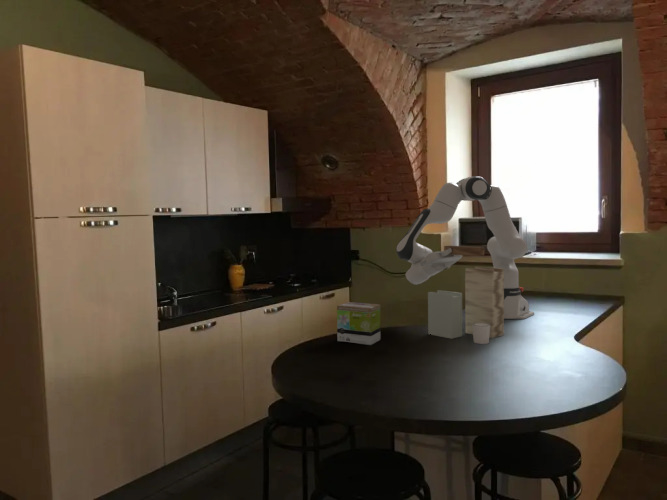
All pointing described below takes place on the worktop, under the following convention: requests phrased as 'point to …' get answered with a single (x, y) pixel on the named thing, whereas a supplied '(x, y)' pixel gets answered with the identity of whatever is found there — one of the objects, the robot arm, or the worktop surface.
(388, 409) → the worktop surface
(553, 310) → the worktop surface
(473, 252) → the walnut bar
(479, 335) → the grey brown short cylinder
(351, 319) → the tea box
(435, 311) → the block
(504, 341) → the worktop surface
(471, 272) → the shelf block
